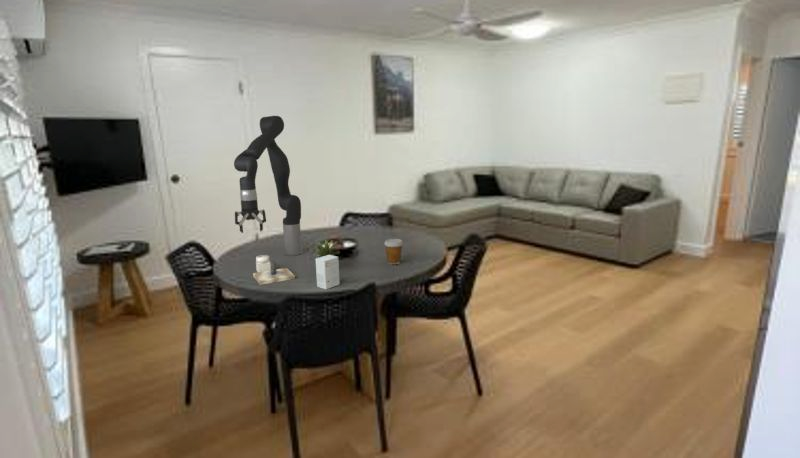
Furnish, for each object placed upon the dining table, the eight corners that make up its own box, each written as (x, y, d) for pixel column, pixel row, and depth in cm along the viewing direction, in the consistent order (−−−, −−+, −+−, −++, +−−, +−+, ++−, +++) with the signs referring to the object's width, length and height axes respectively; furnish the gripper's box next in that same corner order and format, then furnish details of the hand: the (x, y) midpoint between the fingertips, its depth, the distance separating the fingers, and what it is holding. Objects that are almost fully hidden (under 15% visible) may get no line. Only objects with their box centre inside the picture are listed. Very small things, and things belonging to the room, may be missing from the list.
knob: (268, 268, 223) (267, 253, 221) (271, 272, 218) (270, 256, 216) (256, 270, 220) (254, 255, 218) (258, 274, 215) (257, 258, 213)
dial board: (286, 270, 219) (285, 256, 218) (295, 278, 208) (294, 263, 206) (253, 276, 212) (252, 261, 210) (260, 284, 200) (258, 268, 198)
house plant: (327, 279, 207) (326, 245, 203) (305, 274, 214) (303, 241, 210) (347, 270, 218) (345, 238, 215) (325, 266, 226) (324, 235, 222)
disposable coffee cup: (406, 261, 232) (405, 239, 229) (398, 267, 223) (398, 243, 221) (389, 259, 236) (389, 237, 233) (381, 264, 227) (380, 242, 225)
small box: (330, 281, 203) (329, 254, 200) (340, 284, 199) (338, 256, 196) (316, 286, 197) (315, 258, 194) (326, 289, 193) (324, 260, 190)
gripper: (263, 196, 218) (266, 229, 222) (233, 198, 213) (236, 231, 217) (264, 198, 211) (267, 232, 215) (232, 200, 207) (236, 234, 210)
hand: (251, 231), depth 216 cm, fingers open, 8 cm apart
